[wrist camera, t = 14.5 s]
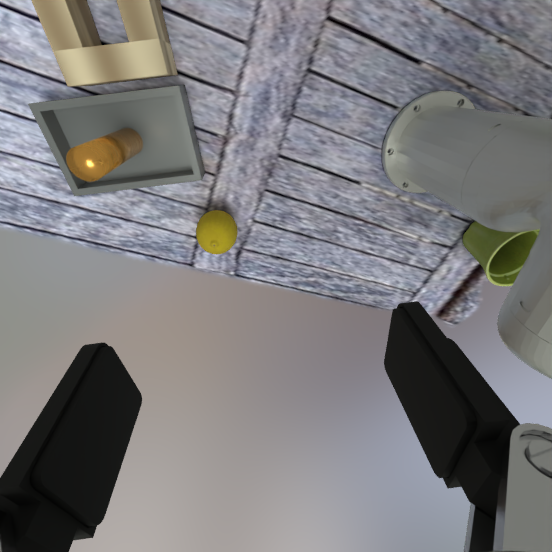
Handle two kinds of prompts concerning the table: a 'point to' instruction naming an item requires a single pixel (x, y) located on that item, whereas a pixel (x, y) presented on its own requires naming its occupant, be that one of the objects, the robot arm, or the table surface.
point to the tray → (126, 114)
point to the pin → (103, 154)
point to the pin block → (114, 57)
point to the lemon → (216, 232)
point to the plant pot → (499, 251)
